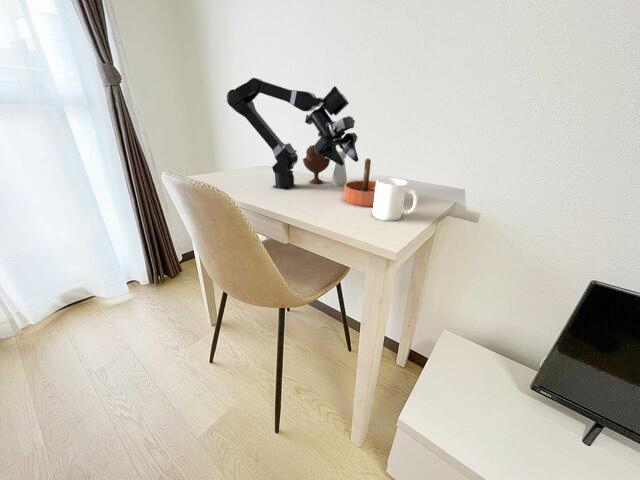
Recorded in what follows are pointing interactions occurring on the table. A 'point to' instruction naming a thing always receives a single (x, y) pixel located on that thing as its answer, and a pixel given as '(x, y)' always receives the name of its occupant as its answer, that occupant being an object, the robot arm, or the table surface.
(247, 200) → the table surface
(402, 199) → the cup
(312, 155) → the ice cream bowl
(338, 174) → the salt shaker
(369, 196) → the bowl
